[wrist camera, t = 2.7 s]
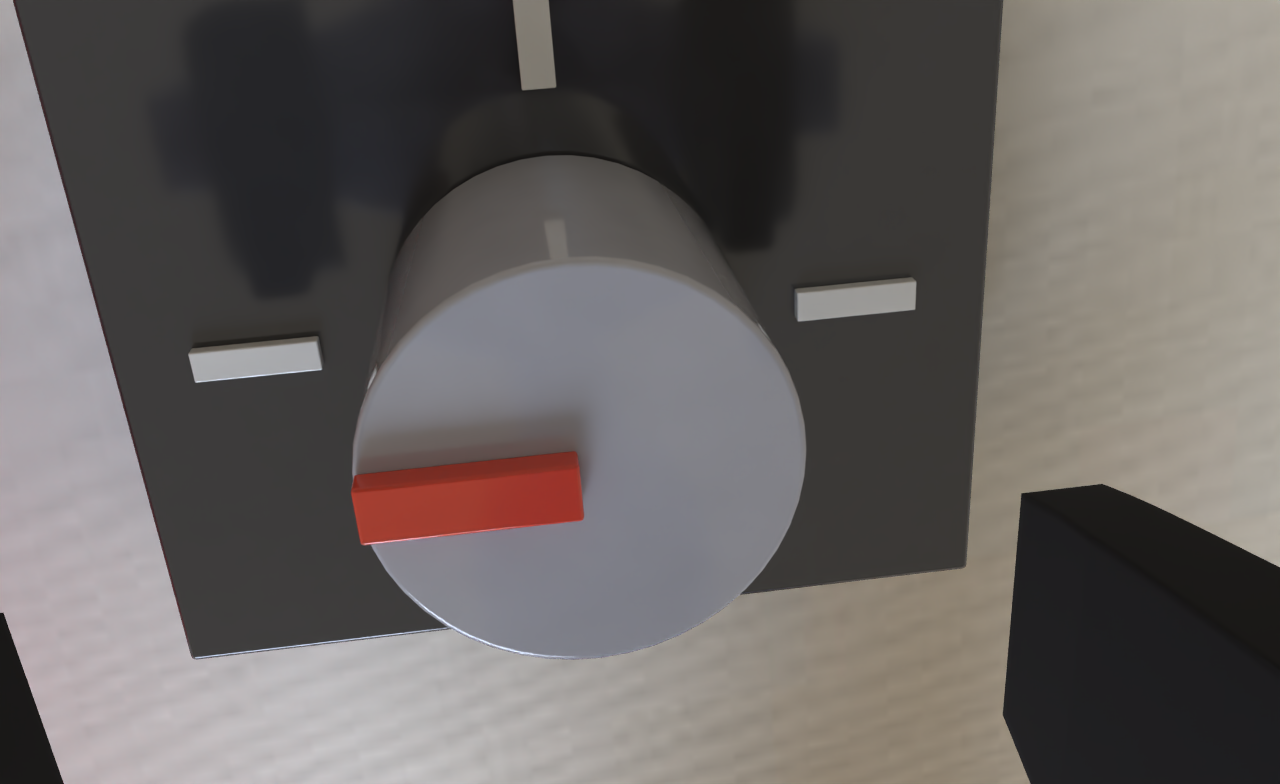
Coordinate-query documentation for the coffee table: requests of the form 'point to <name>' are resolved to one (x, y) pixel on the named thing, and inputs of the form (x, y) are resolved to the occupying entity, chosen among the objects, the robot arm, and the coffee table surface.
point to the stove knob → (572, 416)
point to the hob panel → (456, 152)
